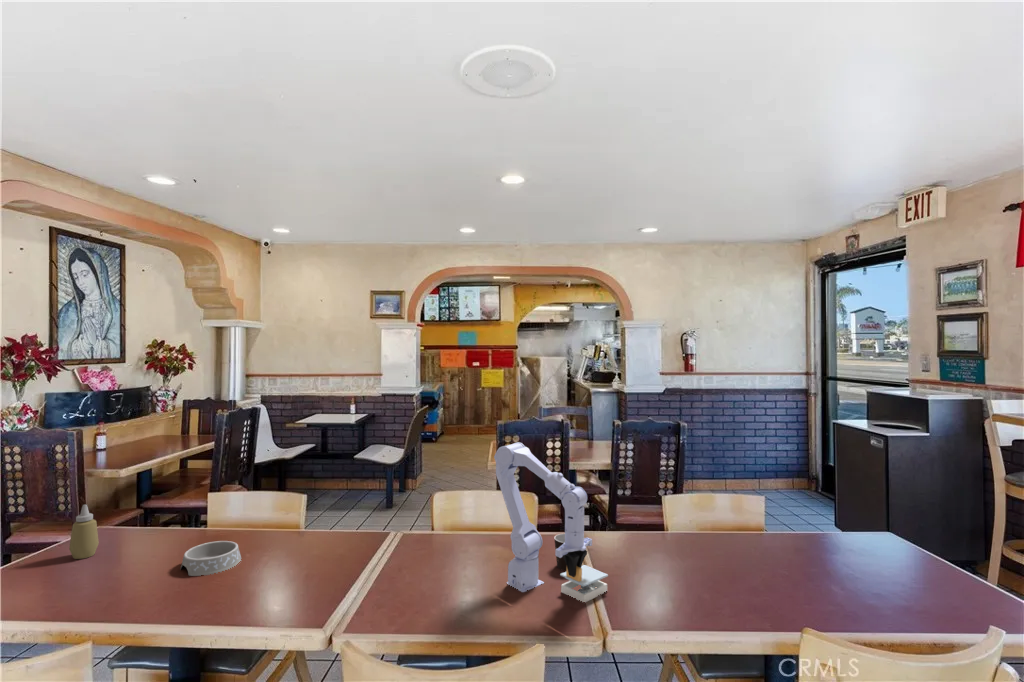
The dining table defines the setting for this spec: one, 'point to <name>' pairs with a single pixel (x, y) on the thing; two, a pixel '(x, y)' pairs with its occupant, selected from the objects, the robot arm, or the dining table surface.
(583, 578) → the lid
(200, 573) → the dog bowl
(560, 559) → the coffee mug
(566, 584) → the tub
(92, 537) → the squeeze bottle
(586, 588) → the grey shiny rounded part
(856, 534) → the dining table surface
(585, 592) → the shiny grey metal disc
